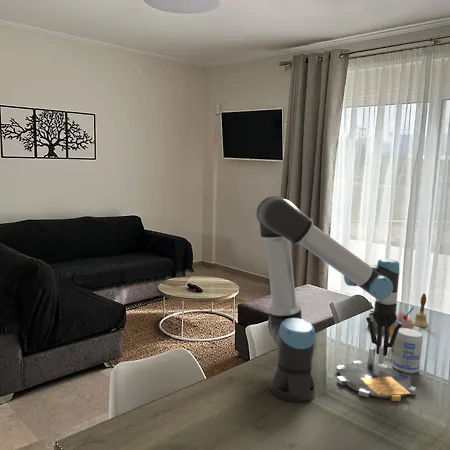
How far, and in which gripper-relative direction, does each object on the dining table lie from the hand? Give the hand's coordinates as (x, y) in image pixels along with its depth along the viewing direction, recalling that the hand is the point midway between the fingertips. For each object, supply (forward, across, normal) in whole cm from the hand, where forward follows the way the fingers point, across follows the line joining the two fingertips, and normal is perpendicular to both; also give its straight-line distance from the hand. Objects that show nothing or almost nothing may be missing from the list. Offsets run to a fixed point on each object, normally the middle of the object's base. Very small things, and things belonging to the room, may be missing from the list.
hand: (381, 363), depth 169 cm
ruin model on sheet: (+5, +13, -48) cm, 50 cm away
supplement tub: (+5, -6, -12) cm, 15 cm away
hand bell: (+5, -1, -73) cm, 73 cm away
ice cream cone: (+5, +1, -29) cm, 29 cm away
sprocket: (+4, 0, +8) cm, 10 cm away
